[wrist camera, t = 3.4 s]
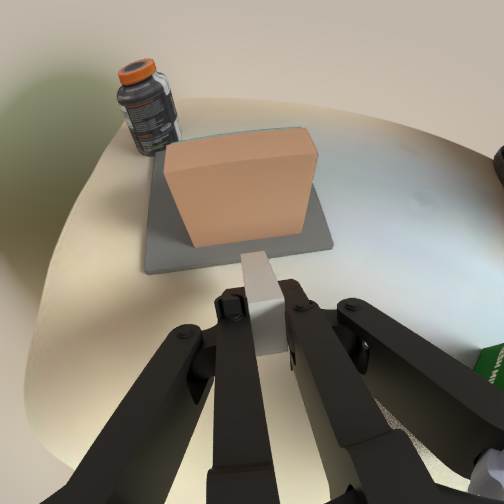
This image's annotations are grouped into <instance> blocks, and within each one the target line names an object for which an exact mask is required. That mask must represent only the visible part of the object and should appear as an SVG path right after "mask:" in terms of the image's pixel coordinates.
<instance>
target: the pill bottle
mask: <svg viewBox="0 0 504 504" xmlns="http://www.w3.org/2000/svg"><path fill="white" fill-rule="evenodd" d="M118 76H119V79H120V83H121V84H122V86H121V87H120V88H119V90H118V92H117V99H118V102H119V105H120V107H121V110H122V112H123V115H124V118H125V120H126V122H127V125H128V127H129V130H130V132H131V135H132V137H133V139H134V142H135V144H136V147H137V149H138V151H139V152H140V153H141V154H143V155H146V156H155V154H156V152H159V151H164V150H166V147H167V145H170V144H171V143H174V142H179V141H180V140H181V138H182V131H181V128H180V124H179V120H178V117H177V112H176V109H175V106H174V101H173V98H172V94H171V90H170V86H169V82H168V78H167V77H166V76H165V75H164V74H162V73H159V72H156V66H155V63H154V60H153V59H142V60H139V61H135V62H133V63H130V64H128V65H126V66H125V67H123V68H122V69H121V70H120V71H119V72H118Z"/></svg>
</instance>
